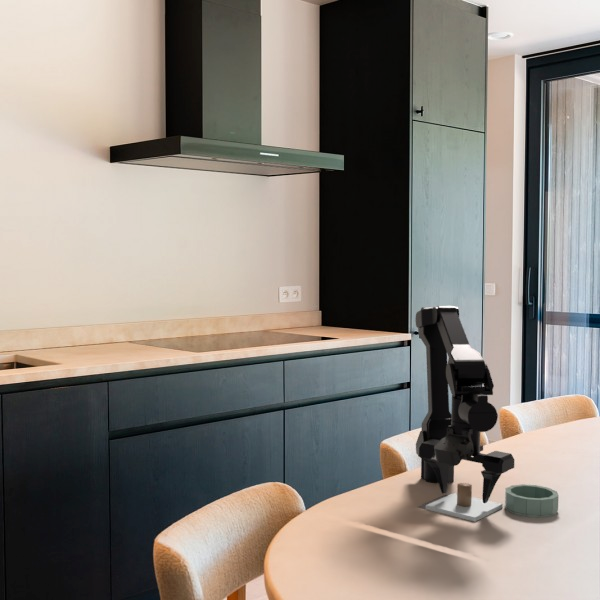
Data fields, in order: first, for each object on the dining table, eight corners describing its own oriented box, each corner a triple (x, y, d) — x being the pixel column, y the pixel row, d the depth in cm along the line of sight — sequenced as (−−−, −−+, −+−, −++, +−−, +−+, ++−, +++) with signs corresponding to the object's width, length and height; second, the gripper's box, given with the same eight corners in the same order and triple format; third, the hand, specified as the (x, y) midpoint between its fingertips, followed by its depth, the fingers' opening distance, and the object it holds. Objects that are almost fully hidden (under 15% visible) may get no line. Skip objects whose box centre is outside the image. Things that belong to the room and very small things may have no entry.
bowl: (496, 512, 164) (496, 492, 163) (519, 500, 171) (519, 481, 171) (544, 523, 157) (544, 503, 157) (565, 511, 165) (566, 491, 164)
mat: (417, 509, 165) (417, 506, 165) (445, 497, 173) (445, 494, 173) (474, 524, 156) (475, 521, 156) (502, 510, 165) (502, 507, 164)
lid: (425, 509, 163) (426, 485, 163) (454, 496, 172) (454, 473, 171) (475, 521, 156) (475, 496, 156) (502, 507, 164) (502, 484, 164)
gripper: (403, 420, 163) (402, 497, 164) (488, 434, 151) (486, 518, 152) (433, 411, 171) (432, 485, 172) (516, 425, 159) (514, 504, 160)
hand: (464, 497), depth 164 cm, fingers open, 9 cm apart
